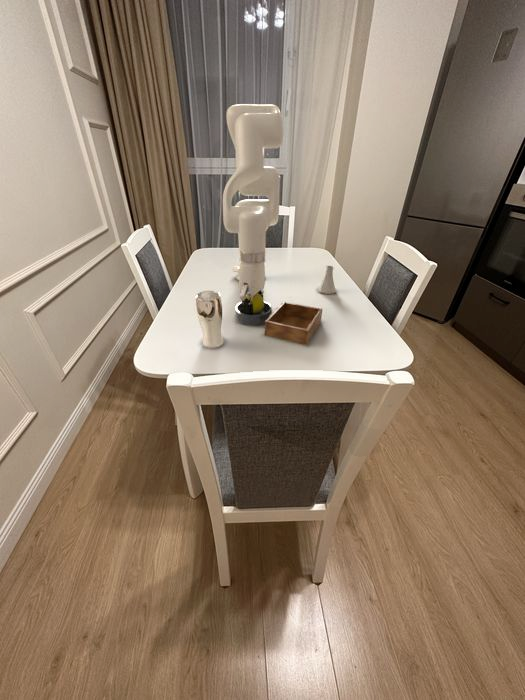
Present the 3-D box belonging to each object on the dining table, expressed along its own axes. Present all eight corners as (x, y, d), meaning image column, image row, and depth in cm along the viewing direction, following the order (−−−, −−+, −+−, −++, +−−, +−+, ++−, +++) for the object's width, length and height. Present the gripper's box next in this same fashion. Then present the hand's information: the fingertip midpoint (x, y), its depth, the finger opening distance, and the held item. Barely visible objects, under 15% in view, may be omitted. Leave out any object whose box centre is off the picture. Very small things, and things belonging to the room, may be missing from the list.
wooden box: (264, 335, 88) (264, 321, 85) (282, 314, 100) (283, 301, 97) (306, 345, 83) (308, 331, 81) (320, 322, 95) (322, 308, 92)
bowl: (229, 322, 95) (228, 311, 93) (246, 307, 104) (245, 297, 102) (262, 330, 91) (262, 318, 89) (277, 314, 100) (277, 303, 98)
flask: (335, 295, 114) (339, 270, 108) (317, 293, 115) (320, 269, 109) (335, 288, 120) (339, 264, 114) (318, 286, 121) (320, 263, 115)
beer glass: (202, 336, 87) (196, 290, 79) (225, 335, 88) (221, 289, 79) (200, 349, 81) (193, 301, 73) (224, 348, 82) (220, 300, 73)
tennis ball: (240, 310, 98) (239, 291, 94) (259, 306, 100) (259, 287, 96) (247, 319, 93) (247, 299, 89) (267, 315, 95) (267, 295, 91)
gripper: (254, 247, 94) (254, 297, 104) (227, 263, 81) (231, 318, 91) (275, 250, 91) (273, 301, 101) (251, 266, 78) (252, 323, 88)
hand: (253, 309), depth 96 cm, fingers closed on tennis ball, 7 cm apart
